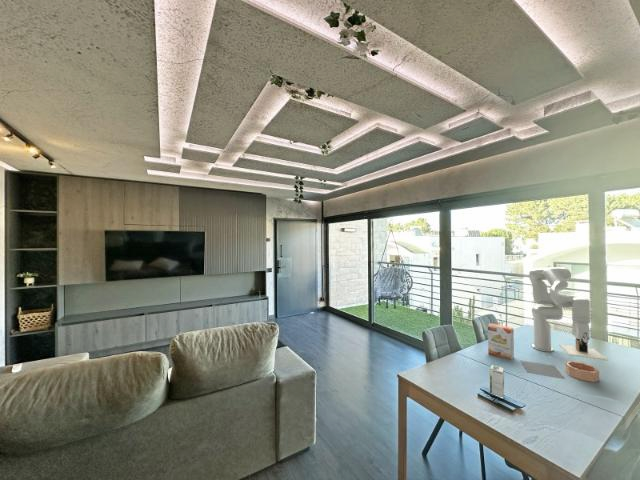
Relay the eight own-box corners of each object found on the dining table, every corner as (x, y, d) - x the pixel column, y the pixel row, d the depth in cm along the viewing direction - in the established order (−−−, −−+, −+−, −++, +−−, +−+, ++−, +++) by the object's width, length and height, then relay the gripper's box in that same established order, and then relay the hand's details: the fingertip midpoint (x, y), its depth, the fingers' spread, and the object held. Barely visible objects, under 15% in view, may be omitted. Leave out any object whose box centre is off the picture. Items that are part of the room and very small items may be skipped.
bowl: (563, 369, 162) (563, 359, 162) (591, 374, 156) (591, 364, 156) (572, 379, 150) (571, 369, 150) (602, 384, 144) (602, 374, 145)
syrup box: (491, 391, 140) (490, 364, 140) (504, 395, 136) (504, 367, 136) (489, 396, 135) (489, 368, 135) (503, 400, 131) (503, 371, 131)
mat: (519, 360, 174) (519, 360, 174) (554, 366, 166) (554, 365, 166) (526, 373, 158) (526, 372, 158) (565, 380, 150) (565, 379, 150)
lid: (558, 345, 164) (558, 334, 164) (593, 349, 157) (593, 338, 157) (569, 355, 150) (569, 343, 150) (607, 360, 142) (607, 348, 143)
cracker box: (487, 353, 186) (487, 324, 186) (491, 351, 189) (490, 322, 189) (511, 360, 174) (510, 329, 175) (514, 358, 178) (513, 327, 178)
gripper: (566, 314, 163) (567, 343, 162) (578, 322, 148) (579, 354, 147) (583, 316, 159) (583, 345, 159) (596, 323, 144) (597, 356, 144)
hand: (581, 349), depth 153 cm, fingers closed on lid, 4 cm apart
